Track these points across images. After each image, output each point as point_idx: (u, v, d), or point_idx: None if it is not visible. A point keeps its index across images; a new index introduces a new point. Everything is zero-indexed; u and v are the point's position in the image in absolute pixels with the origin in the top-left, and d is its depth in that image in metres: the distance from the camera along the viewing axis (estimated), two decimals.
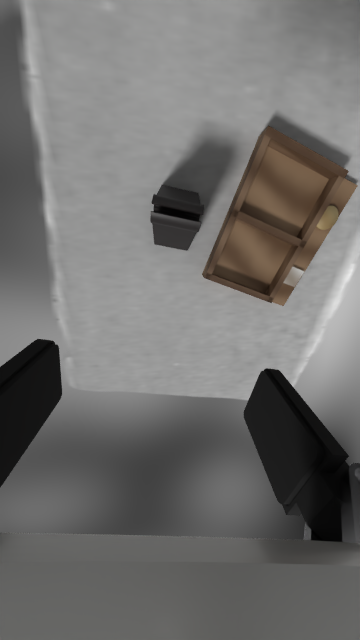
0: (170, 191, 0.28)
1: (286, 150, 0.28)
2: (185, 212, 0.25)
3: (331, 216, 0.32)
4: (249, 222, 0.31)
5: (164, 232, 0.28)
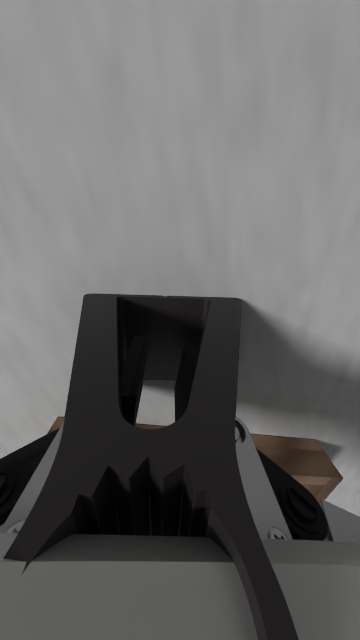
0: None
1: None
2: None
3: None
4: None
5: None
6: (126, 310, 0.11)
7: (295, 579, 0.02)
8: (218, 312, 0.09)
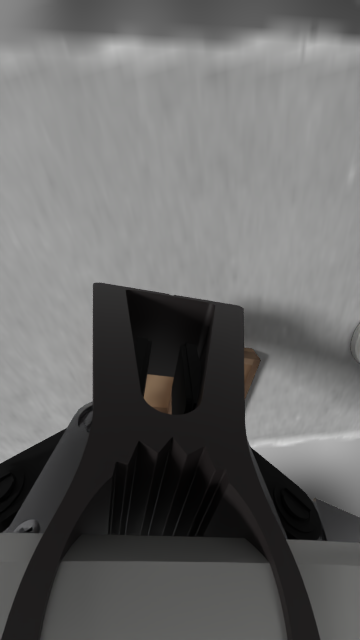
0: None
1: None
2: None
3: None
4: None
5: None
6: (132, 303, 0.11)
7: None
8: (223, 317, 0.10)
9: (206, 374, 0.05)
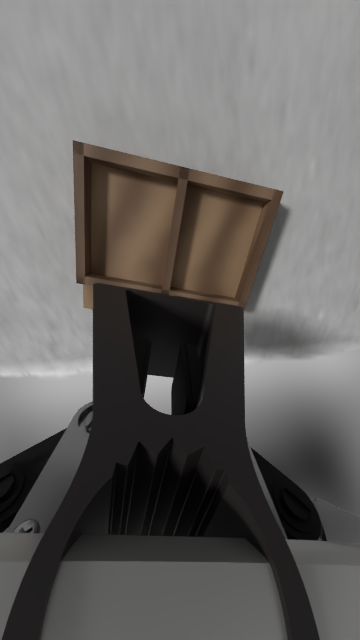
0: None
1: (259, 230, 0.23)
2: None
3: None
4: (175, 203, 0.21)
5: None
6: (132, 304, 0.11)
7: None
8: (222, 317, 0.10)
9: (206, 375, 0.05)
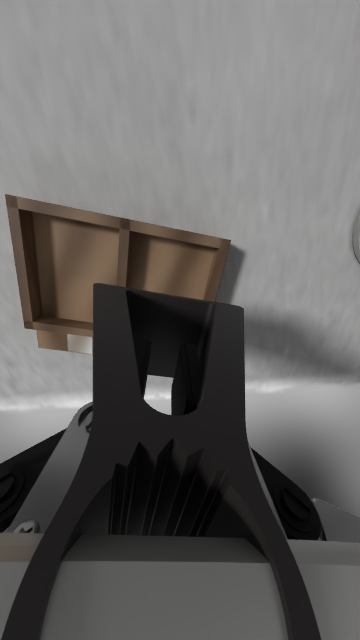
0: None
1: (211, 275, 0.22)
2: None
3: None
4: (119, 252, 0.20)
5: None
6: (132, 304, 0.11)
7: None
8: (223, 317, 0.10)
9: (206, 375, 0.05)
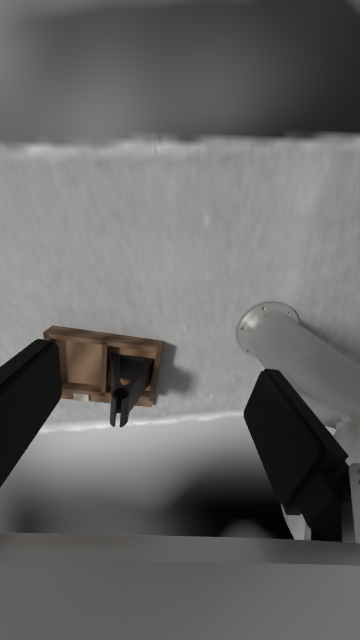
0: (145, 375, 0.38)
1: None
2: None
3: None
4: (102, 355, 0.38)
5: (113, 382, 0.35)
6: (121, 358, 0.40)
7: (295, 579, 0.02)
8: (144, 364, 0.38)
9: (131, 379, 0.34)
